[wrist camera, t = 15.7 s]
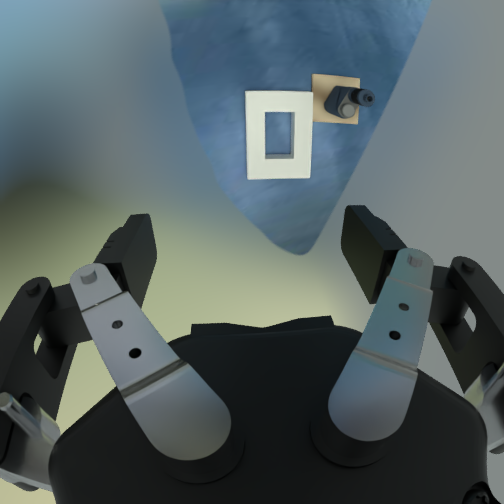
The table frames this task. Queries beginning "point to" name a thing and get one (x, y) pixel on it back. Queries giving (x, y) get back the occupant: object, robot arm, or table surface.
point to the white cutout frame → (301, 134)
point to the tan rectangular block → (321, 91)
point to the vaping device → (347, 101)
